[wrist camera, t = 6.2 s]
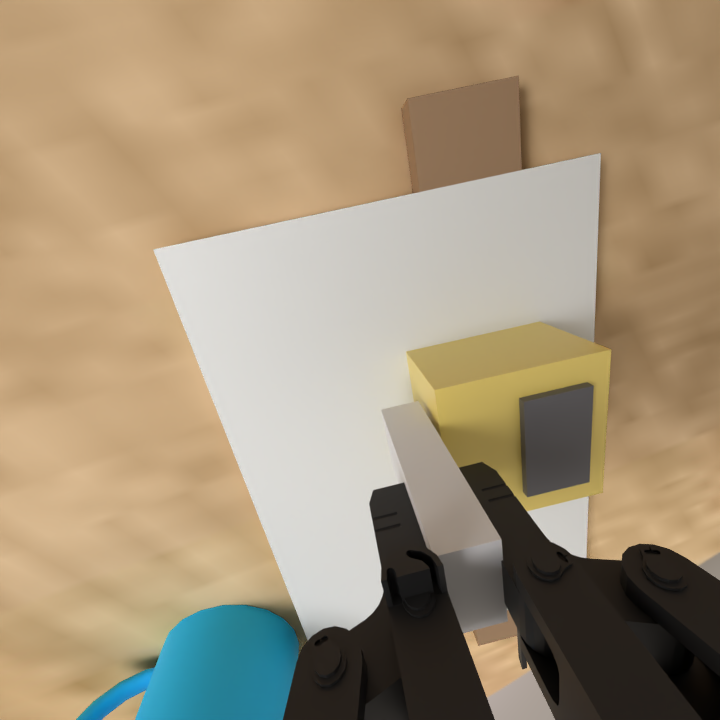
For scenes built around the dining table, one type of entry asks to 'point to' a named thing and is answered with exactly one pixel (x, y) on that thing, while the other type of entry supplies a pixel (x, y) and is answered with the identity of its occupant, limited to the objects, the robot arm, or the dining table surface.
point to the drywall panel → (381, 329)
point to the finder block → (521, 408)
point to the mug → (214, 670)
